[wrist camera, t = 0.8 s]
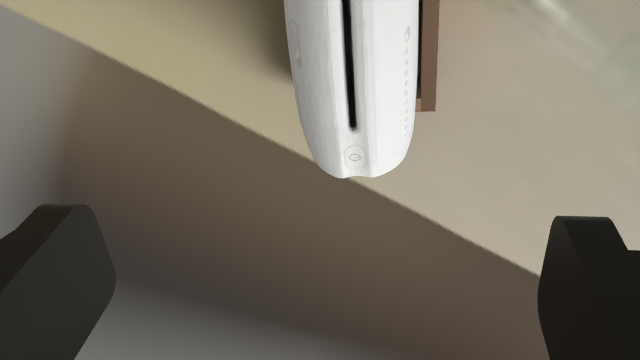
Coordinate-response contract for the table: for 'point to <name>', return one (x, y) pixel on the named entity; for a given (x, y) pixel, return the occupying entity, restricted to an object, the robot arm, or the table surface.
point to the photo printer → (354, 80)
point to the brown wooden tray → (427, 56)
